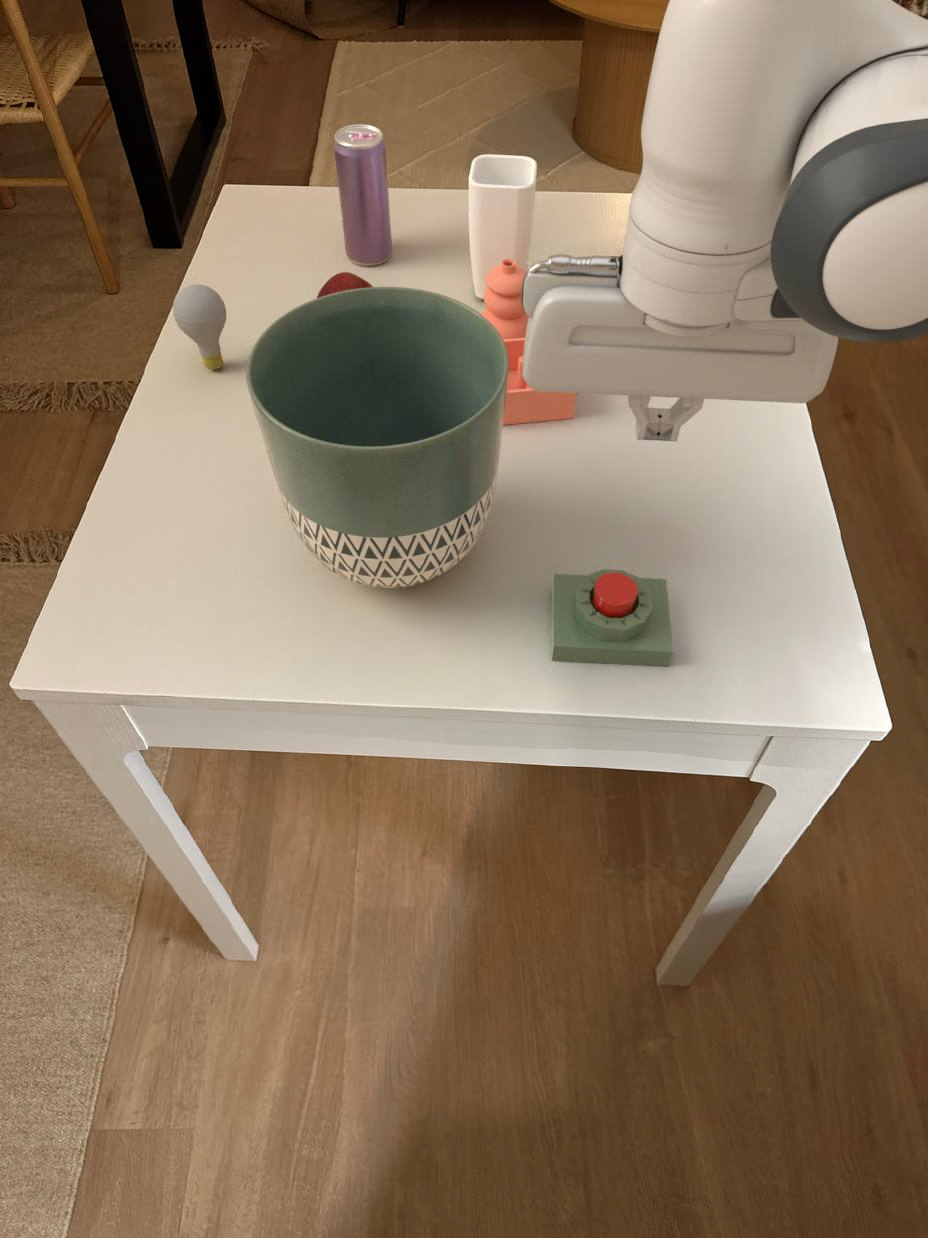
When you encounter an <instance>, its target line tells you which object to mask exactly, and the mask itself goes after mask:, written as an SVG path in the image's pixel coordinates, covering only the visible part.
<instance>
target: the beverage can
mask: <svg viewBox="0 0 928 1238" xmlns="http://www.w3.org/2000/svg"><path fill="white" fill-rule="evenodd" d="M333 150H334V160H335V169H336V176H337V177H336V178H337V186H338V187H337V188H338V195H339V196H338V197H339V203H340V204H339V205H340V213H341V222H342V231H343V238H344V249H345V254H346V256H347V257H348V259H349V260H350V261H351V262H352V263H353V264H355V265H358V266H362V267H374V266H379V265H382V264H383V263H386V262H387V261H388V259H389V258H390V257H391V254H392V253H393V242H392V227H391V225H392V224H391V212H390V211H391V210H390V197H389V182H388V167H387V153H386V142H385V140H384V134H383V132H382V131H381V129H380V128H379V127H376V126H374V125H369V124H365V123H363V124H362V123H358V124H350V125H345V126H343V127H341V128H339V129H338V130H336V132H335V133H334V144H333Z"/></svg>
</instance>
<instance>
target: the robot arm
mask: <svg viewBox="0 0 928 1238" xmlns="http://www.w3.org/2000/svg"><path fill="white" fill-rule="evenodd" d="M654 51H655V52H654V56H653V60H652V65H651V70H650V76H649V80H648V85H647V91H646V96H645V102H644V108H643V115H642V120H641V128H640V142H641V149H642V167H641V172H640V175H639V178H638V180H637V183H636V184H635V187H634V189H633V191H632V194H631V198H630V201H629V206H628V213H627V220H626V225H625V233H624V237H623V238H624V240H623V245H622V254H621V255H620V256H614V255H588V256H571V255H569V254H564V253H563V254H562V253H561V254H560V253H558V254H551V255H549V256H548V260H543V261H540V262H537V263H535V264H534V265H532V266H531V267H529V269H527V273H526V274H525V276H524V279H523V284H522V300H521V302H522V307H523V309H524V311H525V313H526V314H527V315H528V316H529V319H528V324H527V329H526V336H525V343H524V353H523V367H522V377H523V379H524V381H525V382H526V383H527V384H528V385H529V387H530V388H531V389H532V390H534V391H540V392H563V393H576V394H586V395H587V394H588V395H607V396H609V395H611V396H627V400H628V401H627V402H628V406H629V408H630V410H631V412H632V414H633V416H634V417H635V419H636V421H635V438H636V441H654V442H655V441H660V442H678V439H679V435H680V431H681V427H682V426H684V425H685V424H686V423H687V422H689V421H690V420H691V419H692V418H693V417H694V416H695V415H696V414H697V413H698V412H700V411H701V410H702V409H703V405H704V401H705V400H721V401H722V400H723V401H744V402H747V401H748V402H767V403H786V404H787V403H788V404H789V403H790V404H806V403H808V402H810V401H812V400H813V399H815V398H816V397H818V396H819V395H821V394H822V393H823V391H824V390H825V388H826V385H827V383H828V381H829V377H830V374H831V371H832V368H833V365H834V361H835V357H836V353H837V347H838V343H839V338H840V339H843V340H847V341H852V342H857V343H866V344H867V343H869V344H888V343H896V342H898V343H899V342H904V341H908V340H909V341H910V340H913V339H917V338H920V337H924V336H926V335H928V18H924V17H922V16H920V15H918V14H916V13H914V12H912V11H910V10H908V9H907V8H905V7H903V6H901V5H900V4H898V3H896V2H895V1H894V0H669V2H668V4H667V7H666V11H665V13H664V17H663V20H662V24H661V28H660V30H659V35H658V39H657V43H656V46H655V50H654ZM651 397H654V398H655V397H656V398H678V399H677V400H676V401H675V402H674V404H673V405H671V406H670V408H664V407H663V408H661V407H660V408H659V407H649V406H648V405H649V404H650V400H651Z"/></svg>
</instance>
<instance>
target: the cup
mask: <svg viewBox="0 0 928 1238" xmlns="http://www.w3.org/2000/svg"><path fill="white" fill-rule="evenodd" d="M537 169H538V163H537V161H536V160H534V158H532V157H529V156H525V155H512V154H511V155H509V154H508V155H507V154H490V153H489V154H480V155H478V156H476V157H474V158H473V160H472V161H471V166H470V171H469V176H468V234H469V235H468V237H469V238H468V239H469V254H470V255H469V256H470V266H471V275H472V282H473V283H472V284H473V291H474V295H475V296H476V297H477V298H479V299H481V300H483V301H484V294H485V291H486V289H487V288H488V286H487V284H486V277H487V274H488V272H489V271H490V270H492V269H493V268H495V267H497V266H499V265H501V261H502V260H504V259H513V260H515V261H516V266H519V267H521V268H522V269H524V270H525V271H526V272H527V271H528V264H529V258H530V251H531V242H532V231H533V224H534V223H533V222H534V216H535V215H534V214H535V213H534V212H535V201H536V189H537V173H538V172H537V171H538V170H537Z"/></svg>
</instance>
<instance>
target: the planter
mask: <svg viewBox="0 0 928 1238" xmlns="http://www.w3.org/2000/svg"><path fill="white" fill-rule="evenodd" d="M316 298H317V297H316ZM316 298H314V299H311V300H309V301H307V302H305V303H302V304H300V305H298V306H296V307H294V308H293V309H291V310H289V311H288V312H286V313H284V314H282V316H280V317H278V319H276V320H275V321H274V322H272V323H271V324H270V325H269V326H268V327H267V328H266V329H265V330H264V331H263V332H262V333H261V334H260V336H259V337H258V339H257V340H256V342H255V343H254V345H253V347H252V349H251V351H250V353H249V355H248V359H247V363H246V370H245V376H246V377H245V378H246V379H245V380H246V385H247V389H248V393H249V397H250V400H251V404H252V407H253V411H254V414H255V417H256V422H257V424H258V427H259V430H260V433H261V436H262V439H263V442H264V446H265V450H266V453H267V455H268V458H269V462H270V465H271V469H272V472H273V475H274V478H275V481H276V484H277V488H278V490H279V493H280V496H281V500H282V503H283V506H284V508H285V511H286V513H287V516H288V518H289V521H290V523H291V524H292V526H293V528H294V530H295V532H296V533H297V535H298V537H299V538H300V540H301V541H302V543H303V544H304V545H305V547H306V548H307V549H308V551H309V552H310V553H311V554H312V555H313V556H314V558H316V559H317V560H318V561H319V562H320V563H321V564H322V565H323V566H325V567H326V568H327V569H329V570H330V571H332V572H333V573H335V574H337V575H338V576H341V577H342V578H344V579H346V580H349V581H352V582H354V583H358V584H361V585H365V586H369V587H374V588H389V589H392V588H393V589H394V588H406V587H410V586H411V587H412V586H416V585H419V584H422V583H426V582H428V581H430V580H432V579H435V578H437V577H439V576H440V575H443V574H444V573H446V572H448V571H449V570H451V569H452V568H453V567H455V566H456V565H457V564H458V563H459V562H460V561H461V560H463V558H465V557H466V556H467V554H468V553H469V552H470V551H471V550H472V548H473V547H474V546H475V544H476V542H477V541H478V539H479V537H480V535H481V534H482V532H483V530H484V528H485V527H486V523H487V521H488V518H489V515H490V513H491V510H492V507H493V503H494V498H495V493H496V490H497V489H496V488H497V479H498V472H499V463H500V456H501V446H502V437H503V429H504V425H503V420H504V412H505V405H506V397H507V386H508V374H509V357H508V352H507V348H506V346H505V343H504V341H503V339H502V337H501V335H500V334H499V332H498V331H497V330H496V328H495V327H494V326H493V325H492V324H491V323H490V322H489V321H488V320H487V319H486V318H485V317H484V316H482V315H481V314H482V313H480V312H478V311H477V310H475V308H472V307H470V306H469V305H467V304H465V303H463V302H461V301H460V300H457V299H454V298H453V297H449V296H446V295H443V294H441V293H437V292H433V291H429V290H424V289H419V288H410V287H402V286H373V287H368V288H358V289H351V290H346V291H341V292H336V293H333V294H329V295H326V296H322V297H319V298H317V299H316Z"/></svg>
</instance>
